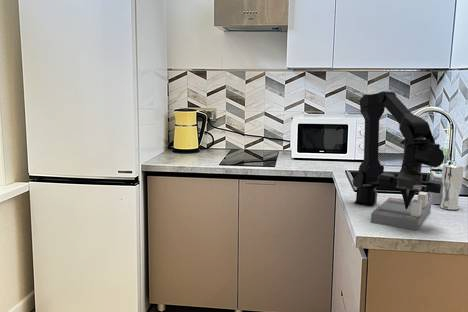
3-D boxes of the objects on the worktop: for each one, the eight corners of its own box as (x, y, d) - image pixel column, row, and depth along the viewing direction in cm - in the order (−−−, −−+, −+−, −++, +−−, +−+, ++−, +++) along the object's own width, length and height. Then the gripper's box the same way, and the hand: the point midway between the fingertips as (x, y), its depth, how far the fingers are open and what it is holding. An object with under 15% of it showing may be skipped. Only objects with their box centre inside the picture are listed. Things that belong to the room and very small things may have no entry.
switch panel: (370, 222, 147) (371, 212, 146) (389, 205, 167) (389, 197, 166) (417, 230, 140) (417, 220, 139) (430, 211, 160) (431, 203, 159)
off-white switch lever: (410, 215, 144) (411, 201, 143) (413, 212, 147) (414, 199, 147) (418, 216, 143) (420, 203, 142) (421, 213, 146) (422, 200, 145)
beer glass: (447, 205, 169) (451, 164, 168) (464, 209, 163) (468, 167, 161) (434, 206, 166) (437, 165, 165) (450, 210, 160) (454, 167, 159)
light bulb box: (427, 197, 180) (429, 170, 178) (446, 199, 178) (448, 171, 176) (430, 204, 170) (433, 175, 168) (450, 206, 168) (453, 177, 166)
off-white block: (416, 206, 154) (418, 193, 153) (419, 204, 158) (420, 191, 157) (424, 207, 153) (425, 195, 152) (426, 205, 156) (427, 192, 156)
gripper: (375, 160, 141) (370, 208, 144) (440, 169, 132) (433, 221, 135) (384, 155, 151) (379, 201, 154) (446, 163, 141) (439, 212, 144)
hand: (406, 208), depth 146 cm, fingers closed
